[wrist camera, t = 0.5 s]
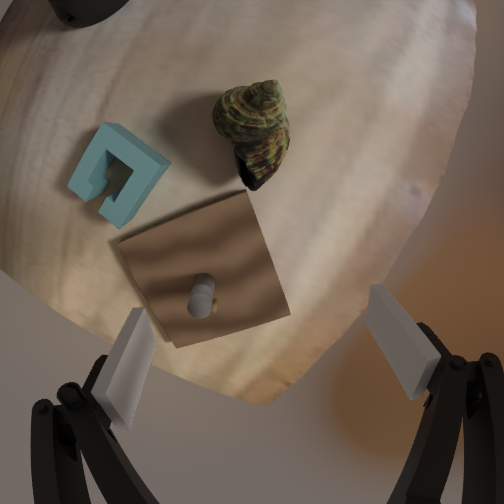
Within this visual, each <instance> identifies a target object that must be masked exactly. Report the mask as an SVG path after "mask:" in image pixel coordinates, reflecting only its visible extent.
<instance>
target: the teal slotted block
mask: <svg viewBox="0 0 504 504" xmlns="http://www.w3.org/2000/svg"><path fill="white" fill-rule="evenodd" d="M115 156H116V157H117V158H118V159H120V160H121V161H122V162H124V163H125V164H126V165H127V166H129V167H130V168H131V169H133V170H134V172H133V173H132V175H131V177H130V178H129V180H128V181H127V183H126V184H125V186H124V187H123V189H122V190H121V191H119V192H117V193H114V194H112V195H110V196H108V197H106V199H105V201H104V203H103V204H102V206H101V208H100V210H99V212H98V213H99V214H101V215H102V216H103V217H104V218H106V219H107V220H108V221H109V222H111V223H112V224H113V225H114V226H116V227H117V228H118V229H120V228H122V227H123V226H124V225H125V224H127V223H128V222H129V221H130V220H132V219H133V217H134V216H135V214H136V212H137V211H138V209H139V208H140V206H141V205H142V203H143V202H144V200H145V199H146V197H147V196H148V195H149V193H150V192H151V190H152V189H153V187H154V186H155V184H156V183H157V182H158V180H159V179H160V177H161V176H162V175H163V173H164V172H165V171H166V169H167V168H168V166H169V165H170V164H171V163H170V162H169V161H168V160H166V159H165V158H164V157H162V156H161V155H160V154H158V153H157V152H156V151H154V150H153V149H152V148H150V147H149V146H148V145H147V144H145V143H144V142H143V141H141V140H140V139H139V138H137V137H136V136H135V135H133V134H132V133H131V132H129V131H128V130H127V129H125V128H124V127H123V126H121V125H120V124H117V123H108V122H103V123H102V125H101V126H100V128H99V129H98V131H97V133H96V134H95V136H94V138H93V139H92V141H91V143H90V144H89V146H88V148H87V149H86V151H85V153H84V155H83V156H82V158H81V160H80V162H79V164H78V166H77V167H76V169H75V171H74V173H73V175H72V177H71V179H70V181H69V183H68V185H67V187H69V188H70V189H71V190H72V191H73V192H74V193H76V194H77V195H78V196H79V197H80V198H81V199H83V200H84V201H85V202H86V201H89V200H91V199H93V198H95V197H97V196H100V195H102V193H103V191H104V190H105V188H106V186H107V184H108V183H109V180H108V179H107V178H105V177H104V174H105V172H106V171H107V169H108V167H109V166H110V164H111V163H112V161H113V159H114V158H115Z"/></svg>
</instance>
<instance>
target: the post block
mask: <svg viewBox="0 0 504 504" xmlns="http://www.w3.org/2000/svg"><path fill="white" fill-rule="evenodd" d="M117 246H118V248H119V250H120V252H121V254H122V256H123V258H124V260H125V262H126V264H127V266H128V268H129V270H130V272H131V273H132V275H133V277H134V279H135V281H136V283H137V284H138V286H139V288H140V290H141V292H142V293H143V295H144V297H145V299H146V300H147V302H148V304H149V305H150V307H151V309H152V311H153V312H154V314H155V316H156V317H157V319H158V320H159V322H160V324H161V325H162V327H163V329H164V330H165V332H166V333H167V335H168V336H169V338H170V340H171V341H172V343H173V344H174V346H175V347H176V348H180V347H184V346H188V345H192V344H195V343H199V342H203V341H207V340H210V339H214V338H217V337H221V336H224V335H228V334H231V333H235V332H238V331H241V330H245V329H248V328H251V327H255V326H258V325H261V324H264V323H267V322H270V321H274V320H277V319H280V318H283V317H286V316H289V315H291V314H290V310H289V307H288V304H287V301H286V298H285V295H284V293H283V290H282V287H281V284H280V281H279V279H278V276H277V273H276V270H275V267H274V265H273V262H272V259H271V256H270V254H269V251H268V248H267V245H266V243H265V240H264V237H263V234H262V232H261V229H260V226H259V223H258V221H257V218H256V215H255V212H254V210H253V207H252V204H251V202H250V199H249V196H248V194H247V191H246V190H243V191H240V192H238V193H235V194H232V195H229V196H227V197H224V198H221V199H219V200H216V201H214V202H211V203H208V204H206V205H203V206H201V207H198V208H196V209H193V210H191V211H188V212H186V213H183V214H181V215H178V216H176V217H173V218H171V219H168V220H166V221H164V222H161V223H159V224H156V225H154V226H152V227H149V228H147V229H145V230H143V231H140V232H138V233H136V234H133V235H131V236H129V237H127V238H124V239H122V240H121V241H120V242H119V243H117Z"/></svg>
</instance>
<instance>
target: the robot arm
mask: <svg viewBox="0 0 504 504" xmlns="http://www.w3.org/2000/svg"><path fill="white" fill-rule="evenodd" d="M48 1H49V2H50V4H51V6H52V8H53V10H54V12H55V13H56V15H57V17H58V18H59V19H60V20H61V21H62V22H64V23H65V24H67V25H69V26H72V27H86V26H90V25H93V24H96V23H98V22H100V21H102V20H104V19H106V18H108V17H109V16H111V15H112V14H114V13H115V12H117V11H118V10H119V9H120V8H122V7H123V6H124V5H125V4H126V3H127V2H128V1H129V0H48ZM365 323H366V325H367V327H368V328H369V330H370V332H371V333H372V335H373V337H374V338H375V340H376V342H377V343H378V345H379V347H380V348H381V350H382V352H383V353H384V355H385V357H386V358H387V360H388V362H389V364H390V365H391V367H392V369H393V371H394V372H395V374H396V376H397V377H398V379H399V381H400V383H401V385H402V386H403V388H404V390H405V392H406V393H407V395H408V397H409V399H410V400H413V399H415V398H418V397H421V396H423V394H424V392H425V390H426V388H427V389H428V391H429V392H430V394H429V396H428V398H427V400H426V402H425V403H424V405H423V407H425V409H424V413H423V416H422V419H421V422H420V425H419V428H418V431H417V434H416V437H415V440H414V443H413V445H412V448H411V451H410V453H409V456H408V458H407V461H406V463H405V466H404V468H403V471H402V473H401V475H400V477H399V479H398V482H397V484H396V486H395V488H394V490H393V492H392V494H391V496H390V498H389V500H388V502H387V504H441V503H440V498H441V495H442V492H443V490H444V487H445V484H446V481H447V478H448V475H449V472H450V468H451V465H452V461H453V458H454V454H455V450H456V446H457V442H458V437H459V432H460V427H461V422H462V417H463V430H464V482H463V494H462V504H504V372H503V368H502V365H501V362H500V360H499V358H498V357H497V356H496V355H495V354H492V353H488V352H487V353H484V354H482V355H481V357H480V359H479V361H472V362H467V361H466V360H465V359H464V358H463V357H461V356H457V355H452V354H451V353H450V352H449V351H448V349H447V348H446V347H445V346H444V345H443V343H442V342H441V341H440V339H438V337H437V336H436V335H435V334H434V332H433V331H432V330H431V329H430V328H429V327H428V326H427V325H425V324H424V323H422V322H421V323H415V322H414V321H413V319H412V318H411V317H410V316H409V315H408V313H407V312H406V311H405V310H404V309H403V307H402V306H401V305H400V304H399V303H398V302H397V300H396V299H395V298H394V297H393V296H392V295H391V293H390V292H389V291H388V290H387V289H386V288H385V287H384V286H383V284H376V285H371V287H370V294H369V301H368V309H367V314H366V321H365ZM156 345H157V343H156V340H155V337H154V334H153V331H152V328H151V325H150V322H149V319H148V316H147V313H146V310H145V307H139V308H133V309H132V311H131V312H130V314H129V316H128V318H127V320H126V322H125V324H124V326H123V327H122V329H121V331H120V333H119V335H118V337H117V339H116V341H115V343H114V345H113V347H112V349H111V351H110V353H109V355H101V356H100V357H99V358H98V360H96V362H95V363H94V365H93V367H92V370H91V372H90V373H89V374H90V375H88V378H87V379H86V382H85V383H84V386H83V388H82V389H81V387H80V386H79V385H78V384H77V383H75V382H69V383H66V384H64V385H62V386H61V387H60V388H59V390H58V392H57V398H58V400H59V401H60V403H61V404H62V405H55V406H54V405H53V404H52V402H51V401H50V400H48V399H41V400H39V401H38V402H36V403H35V404H34V406H33V408H32V418H31V473H32V486H33V495H34V503H35V504H91V501H90V497H89V493H88V489H87V484H86V480H85V475H84V469H83V464H82V457H81V452H82V454H83V456H84V459H85V461H86V463H87V465H88V467H89V469H90V472H91V473H92V476H93V478H94V480H95V482H96V484H97V485H98V487H99V489H100V491H101V493H102V495H103V496H104V498H105V500H106V502H107V504H159V502H158V501H157V500H156V498H155V497H154V496H153V495H152V493H151V492H150V490H149V489H148V488H147V486H146V485H145V484H144V482H143V481H142V479H141V478H140V476H139V475H138V473H137V472H136V470H135V469H134V467H133V466H132V464H131V463H130V461H129V459H128V458H127V456H126V454H125V453H124V451H123V450H122V448H121V446H120V444H119V443H118V441H117V439H116V437H115V436H114V434H113V432H112V430H111V429H110V428H109V427H110V424H111V422H112V423H113V424H114V425H115V427H116V428H119V429H126V430H130V429H131V426H132V422H133V418H134V415H135V411H136V408H137V405H138V401H139V398H140V394H141V391H142V388H143V384H144V381H145V378H146V375H147V372H148V369H149V366H150V363H151V360H152V357H153V353H154V350H155V347H156ZM80 449H81V451H80Z"/></svg>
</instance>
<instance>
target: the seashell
mask: <svg viewBox="0 0 504 504" xmlns="http://www.w3.org/2000/svg"><path fill="white" fill-rule="evenodd" d="M212 117H213V122H214V126H215V128H216V130H217V131H218V132H219V133H220V134H221V135H222V136H224V137H225V138H228V139H230V140H232V144H233V147H234V158H235V163H236V166H237V168H238V171H239V175H240V178H241V179H242V182H243V183H244V185H245V186H246V187H248V188H249V190H251V191H256V190H257V189H259V188H260V187H261V186H262V185H263V184H264V183H265V182H266V181H268V180H269V179H270V178H271V177H272V176H273V174H274V173H275V172H276V171H277V169H278V168H279V166H280V164H281V162H282V160H283V158H284V156H285V155H286V152H287V149H288V146H289V141H290V131H289V122H288V120H287V117H286V104H285V100H284V97H283V96H282V89H281V87H280V84H279V82H278V81H277V80H267V81H264V82H258V83H254V84H252V85H251V86H241V87H235V88H233V89H230V90H228V91H226V92H225V93H224V95H223V96H222V97H221V98H220V99H219V100H218V101H217V102H216V104H215V108H214V109H213V114H212Z"/></svg>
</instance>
